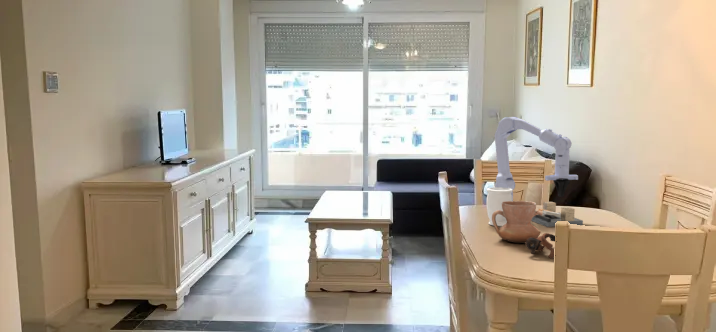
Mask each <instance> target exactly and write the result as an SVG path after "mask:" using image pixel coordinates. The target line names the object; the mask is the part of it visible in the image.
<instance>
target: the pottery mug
mask: <svg viewBox="0 0 716 332" xmlns="http://www.w3.org/2000/svg"><path fill="white" fill-rule="evenodd" d="M555 236H556V235H554V234H553V233H547V232H545V233H544V232H543V234H542V235H539V237H538V238H537V239H535V238H529V239H527V240H526V243H524V244H525V247H526V248H527V250H529V251H530V254H536V251H538V252H543V251H544V249H545V248H546V249H547V250H548V251H550V252H549V254H548V258H549V259H551V260H552V259H554V258H555V257H554V249H555V247H554V245H553V244H552V243H550V242H549V241H548V240H547V239H548V238H549V239H550V241H551V242H555ZM531 244H532V245H531Z"/></svg>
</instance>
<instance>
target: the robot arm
mask: <svg viewBox="0 0 716 332" xmlns="http://www.w3.org/2000/svg"><path fill="white" fill-rule="evenodd" d="M497 123H498V125H497V128H496V131H495V133H494V143H495V152H496V153H495V154H496V164H497V175H496V178H495V180H496V181H495V184H494V187H502V188H510V189H512V192H511V196H512V201H514V190H515V188H516V182H515V180H514V178H513V177H514V176H513V174H512V172H511V168H510V159H509V158H510V157H509V156H510V155H509V147H508V137H510V135H511V134H512V133H513V132H515V131H517V130H524V131H526V132H527V133H531V134H532V135H534V136H537V137H538V139H539V141H541V142H543V144H547V145H548V146H550V147H551V148H554V150H555V156H554V157H555V158H554V159H555V161H554V174H550V175H544V180H545V181H553V184H554V186H555V188H556V191H557V196H558V197H560V198H564V197H565V193H566V190H567V188H568V186H569V184H570V182H571V181H572V180H577V181H578V180H579V175H577V174H570V150H571V148H572V141H571V139H570V138H568V137H567V136H563V134H558V133H556V132H554V131H553V129H551V128H545V129H541V128H540V127H537V126H536V125H534V124H532V123H530V122H528V121H527V120H525V119H523V118H519V117H517V116H509V117H508V116H505V117H503V118H501V120H499V121H498V122H497Z"/></svg>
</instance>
